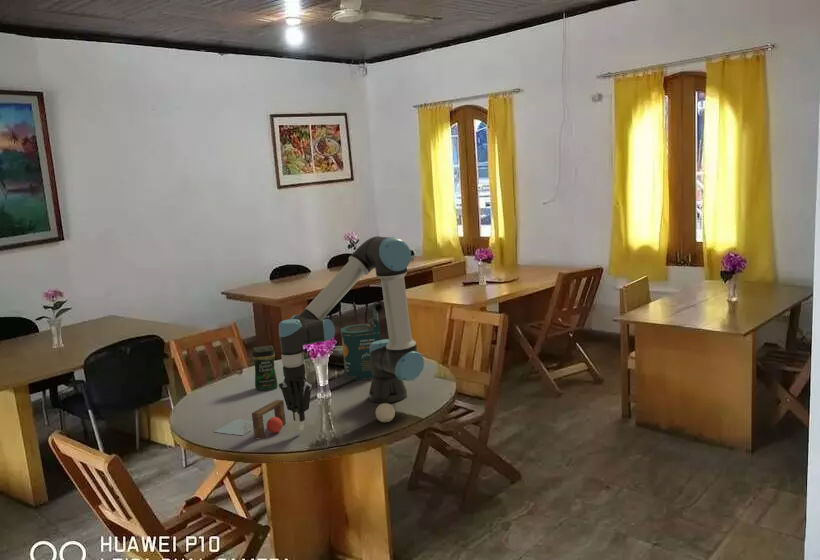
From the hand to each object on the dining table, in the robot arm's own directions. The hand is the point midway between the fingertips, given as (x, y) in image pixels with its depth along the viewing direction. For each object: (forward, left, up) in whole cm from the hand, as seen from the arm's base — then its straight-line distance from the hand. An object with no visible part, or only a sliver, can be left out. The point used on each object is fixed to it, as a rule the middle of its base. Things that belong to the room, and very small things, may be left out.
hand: (300, 429), depth 245 cm
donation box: (+14, -70, -2) cm, 71 cm away
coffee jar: (+46, -42, -2) cm, 62 cm away
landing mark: (+27, 0, -2) cm, 27 cm away
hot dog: (+32, -81, -2) cm, 87 cm away
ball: (+11, 0, +1) cm, 11 cm away
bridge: (+13, 0, -2) cm, 13 cm away
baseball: (-24, -19, -2) cm, 31 cm away
